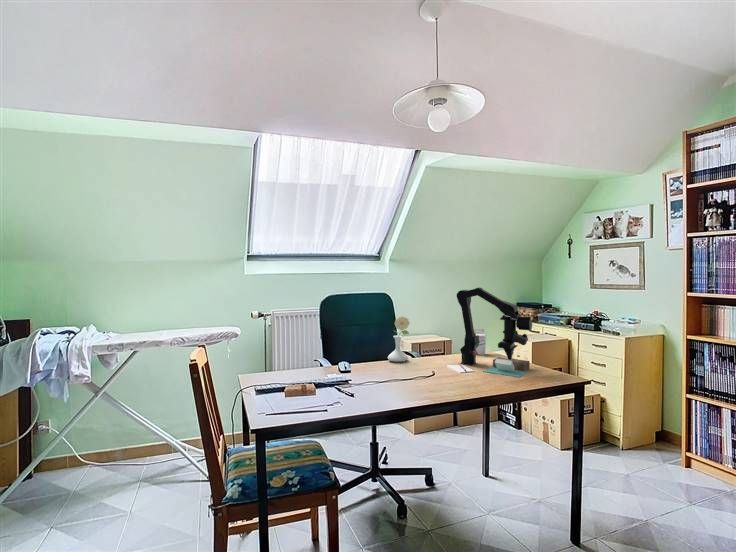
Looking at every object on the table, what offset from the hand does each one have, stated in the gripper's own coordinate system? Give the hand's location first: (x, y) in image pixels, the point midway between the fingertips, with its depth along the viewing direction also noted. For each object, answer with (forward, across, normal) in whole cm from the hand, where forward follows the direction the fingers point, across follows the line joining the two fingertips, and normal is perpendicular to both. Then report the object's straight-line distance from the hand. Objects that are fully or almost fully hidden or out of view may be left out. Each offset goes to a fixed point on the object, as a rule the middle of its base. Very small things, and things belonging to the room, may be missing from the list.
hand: (510, 359), depth 218 cm
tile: (+2, -7, 0) cm, 7 cm away
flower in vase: (+5, -17, +56) cm, 59 cm away
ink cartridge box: (+5, +24, +27) cm, 36 cm away
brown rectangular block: (+5, +2, 0) cm, 5 cm away
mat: (+5, -8, 0) cm, 9 cm away
